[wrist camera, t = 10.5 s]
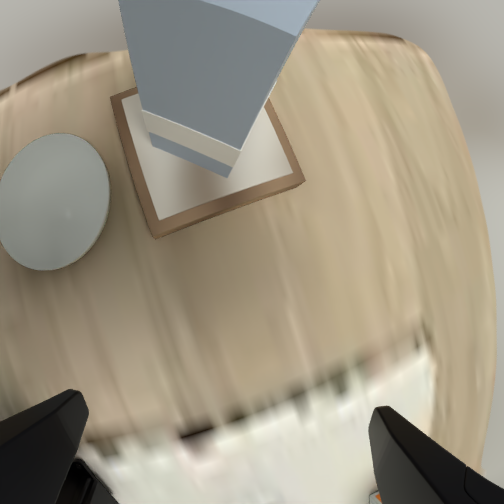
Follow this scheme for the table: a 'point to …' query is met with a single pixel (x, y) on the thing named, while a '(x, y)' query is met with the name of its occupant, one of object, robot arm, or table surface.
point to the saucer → (53, 202)
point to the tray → (202, 171)
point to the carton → (208, 69)
